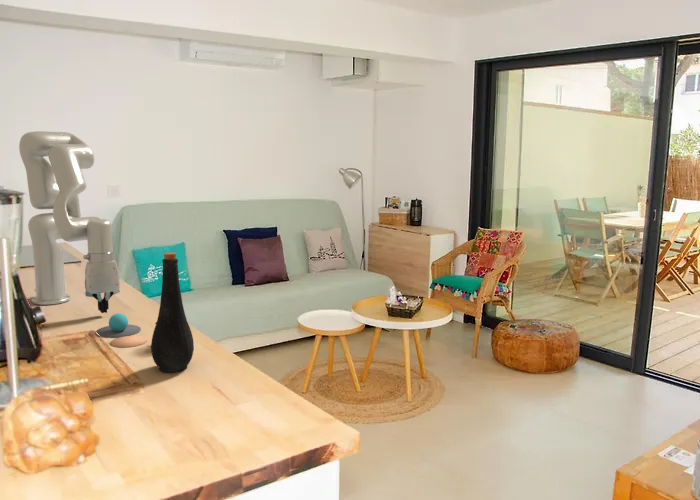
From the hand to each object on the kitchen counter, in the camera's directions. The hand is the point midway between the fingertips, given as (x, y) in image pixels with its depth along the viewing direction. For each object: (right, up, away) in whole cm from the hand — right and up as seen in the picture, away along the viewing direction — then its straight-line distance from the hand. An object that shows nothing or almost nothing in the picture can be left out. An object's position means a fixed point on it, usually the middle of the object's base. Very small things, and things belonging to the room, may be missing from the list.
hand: (103, 311), depth 202 cm
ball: (+11, -2, -16) cm, 20 cm away
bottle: (+36, -10, -45) cm, 58 cm away
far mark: (+17, -6, -25) cm, 31 cm away
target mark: (+11, -4, -15) cm, 19 cm away
